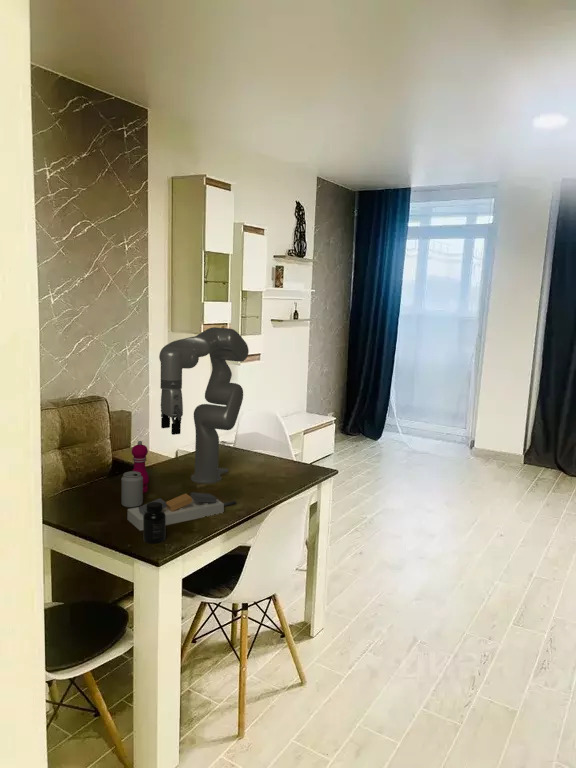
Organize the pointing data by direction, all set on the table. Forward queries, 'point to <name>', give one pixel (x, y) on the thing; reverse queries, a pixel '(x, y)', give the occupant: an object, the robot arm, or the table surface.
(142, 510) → the block
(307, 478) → the table surface
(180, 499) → the rocker
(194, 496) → the block
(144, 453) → the pepper mill
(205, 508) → the power strip
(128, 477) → the can
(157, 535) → the supplement bottle
